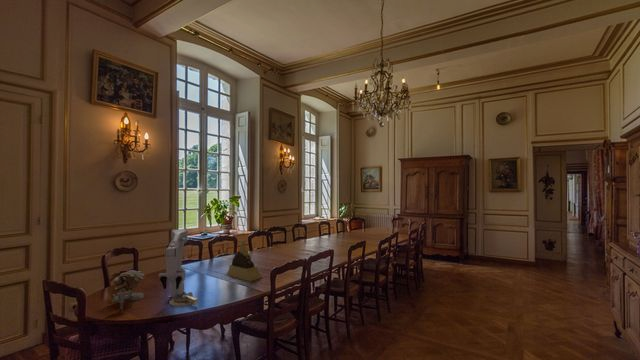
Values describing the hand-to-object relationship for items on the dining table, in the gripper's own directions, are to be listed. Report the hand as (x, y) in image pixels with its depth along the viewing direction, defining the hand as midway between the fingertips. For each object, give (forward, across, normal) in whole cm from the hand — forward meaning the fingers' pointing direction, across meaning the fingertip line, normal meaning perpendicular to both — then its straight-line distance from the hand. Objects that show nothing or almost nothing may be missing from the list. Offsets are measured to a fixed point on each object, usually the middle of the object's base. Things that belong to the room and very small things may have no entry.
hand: (171, 288), depth 201 cm
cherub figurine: (+10, -32, +12) cm, 36 cm away
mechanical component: (+10, -25, -9) cm, 28 cm away
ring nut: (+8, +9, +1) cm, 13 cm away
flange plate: (+9, +6, +4) cm, 12 cm away
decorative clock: (+10, +32, +60) cm, 69 cm away
